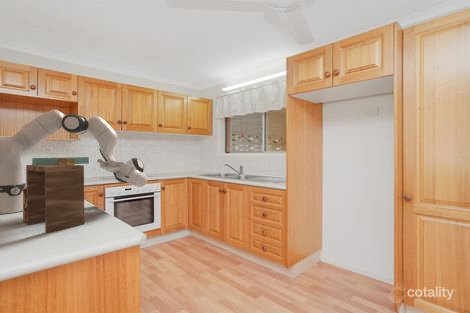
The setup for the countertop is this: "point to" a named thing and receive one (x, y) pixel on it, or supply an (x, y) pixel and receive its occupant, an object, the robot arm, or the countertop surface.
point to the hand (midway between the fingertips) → (103, 160)
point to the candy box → (24, 205)
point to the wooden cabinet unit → (55, 194)
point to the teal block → (54, 160)
